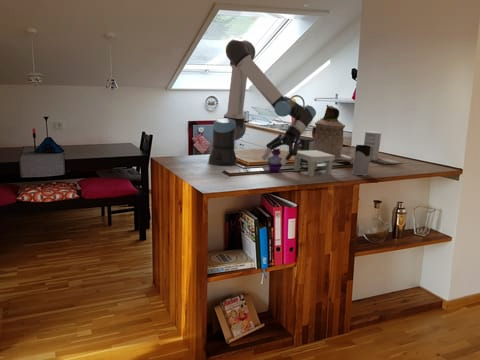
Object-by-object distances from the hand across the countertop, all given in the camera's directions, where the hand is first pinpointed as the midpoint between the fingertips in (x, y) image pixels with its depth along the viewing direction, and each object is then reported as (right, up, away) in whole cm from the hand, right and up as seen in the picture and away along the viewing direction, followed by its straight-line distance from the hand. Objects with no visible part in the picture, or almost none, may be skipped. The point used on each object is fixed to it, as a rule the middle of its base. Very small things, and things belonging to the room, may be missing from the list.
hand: (272, 161), depth 232 cm
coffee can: (+20, +1, +30) cm, 36 cm away
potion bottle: (+1, -5, +3) cm, 6 cm away
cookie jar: (+37, +5, +53) cm, 64 cm away
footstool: (+21, -5, +6) cm, 23 cm away
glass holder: (+49, -6, +11) cm, 50 cm away
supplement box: (+65, +4, +54) cm, 84 cm away
